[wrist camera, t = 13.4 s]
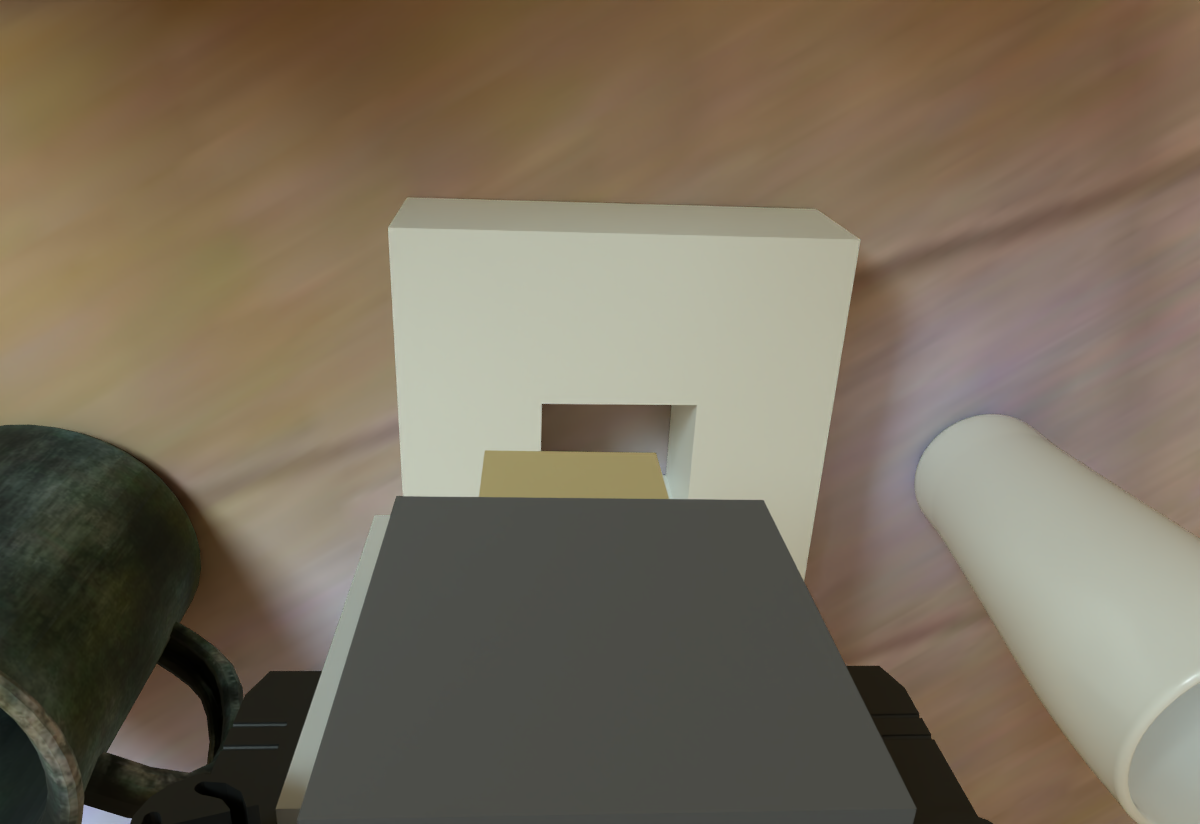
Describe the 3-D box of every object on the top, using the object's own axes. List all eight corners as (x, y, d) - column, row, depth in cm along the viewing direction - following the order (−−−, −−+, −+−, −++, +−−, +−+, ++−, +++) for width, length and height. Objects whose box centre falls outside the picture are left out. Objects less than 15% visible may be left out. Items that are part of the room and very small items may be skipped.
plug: (426, 397, 17) (297, 819, 8) (715, 403, 17) (916, 808, 8) (433, 638, 19) (339, 1194, 10) (690, 638, 20) (828, 1169, 10)
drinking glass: (1085, 408, 35) (1442, 664, 21) (1013, 551, 38) (1290, 860, 24) (929, 375, 34) (1201, 623, 20) (866, 525, 36) (1069, 833, 23)
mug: (-49, 351, 31) (-366, 541, 20) (344, 525, 35) (261, 762, 24) (-130, 581, 34) (-437, 851, 23) (236, 715, 38) (120, 999, 27)
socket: (407, 197, 30) (388, 227, 26) (816, 209, 31) (860, 239, 27) (430, 707, 39) (419, 790, 35) (745, 700, 40) (771, 780, 36)
